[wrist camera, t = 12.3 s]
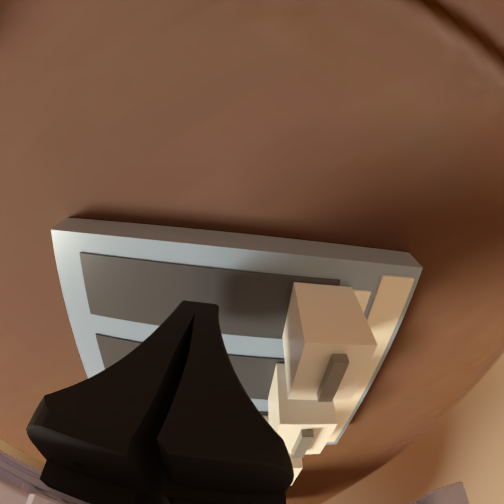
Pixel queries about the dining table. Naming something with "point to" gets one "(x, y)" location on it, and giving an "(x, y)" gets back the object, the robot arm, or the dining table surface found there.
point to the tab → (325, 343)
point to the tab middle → (299, 418)
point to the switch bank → (219, 292)
